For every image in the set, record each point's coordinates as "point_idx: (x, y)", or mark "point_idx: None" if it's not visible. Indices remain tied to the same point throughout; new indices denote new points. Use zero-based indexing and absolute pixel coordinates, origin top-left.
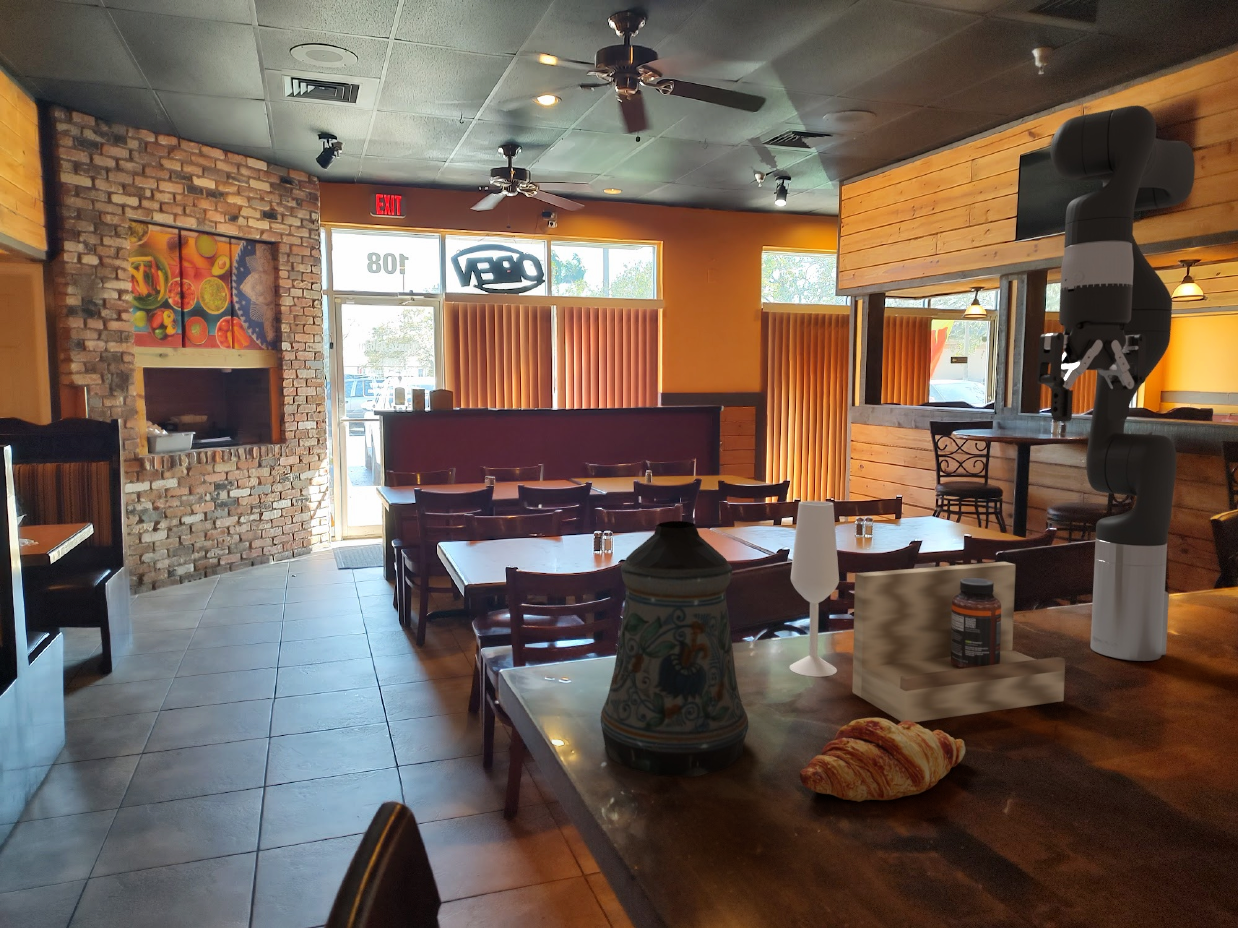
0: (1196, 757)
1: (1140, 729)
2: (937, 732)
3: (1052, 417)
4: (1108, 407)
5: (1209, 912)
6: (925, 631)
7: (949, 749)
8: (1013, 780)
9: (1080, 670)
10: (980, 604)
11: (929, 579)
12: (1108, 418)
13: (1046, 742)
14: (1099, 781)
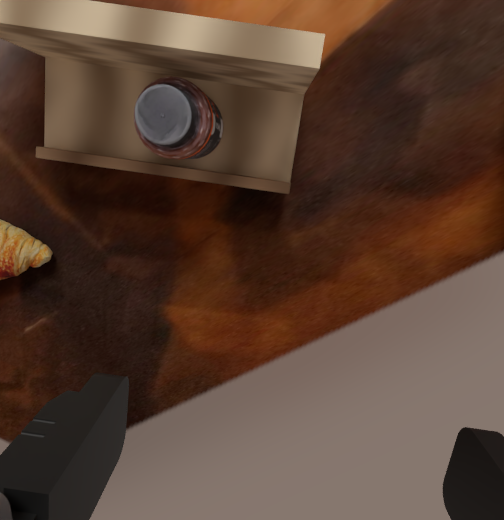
0: (265, 339)
1: (284, 279)
2: (10, 254)
3: (94, 374)
4: (497, 469)
5: None
6: (136, 63)
7: (10, 275)
8: (73, 298)
9: (416, 120)
10: (149, 148)
11: (109, 42)
12: (463, 429)
13: (167, 258)
14: (140, 330)
